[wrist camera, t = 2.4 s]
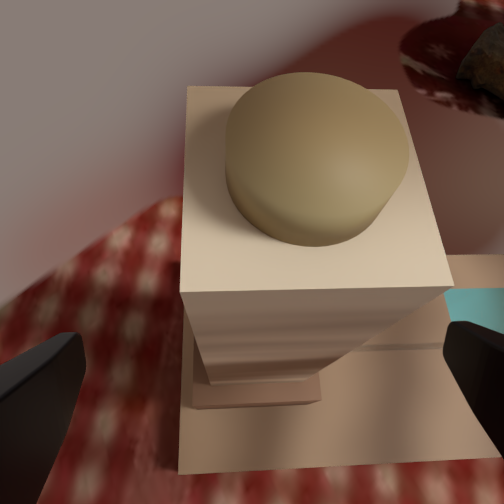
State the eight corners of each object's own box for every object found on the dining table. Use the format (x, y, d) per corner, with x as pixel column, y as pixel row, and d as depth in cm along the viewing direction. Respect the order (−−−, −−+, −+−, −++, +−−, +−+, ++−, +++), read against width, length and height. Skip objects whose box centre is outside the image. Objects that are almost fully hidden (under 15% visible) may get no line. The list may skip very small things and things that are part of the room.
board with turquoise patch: (180, 472, 17) (178, 474, 16) (187, 265, 21) (185, 258, 20) (597, 449, 18) (617, 450, 17) (525, 261, 23) (537, 253, 22)
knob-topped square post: (307, 404, 17) (576, 320, 4) (197, 409, 17) (95, 335, 4) (296, 300, 20) (450, 19, 6) (199, 303, 19) (137, 9, 6)
